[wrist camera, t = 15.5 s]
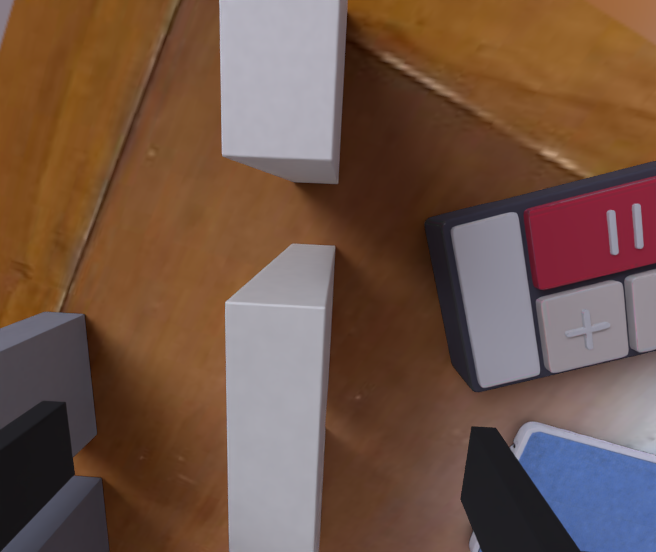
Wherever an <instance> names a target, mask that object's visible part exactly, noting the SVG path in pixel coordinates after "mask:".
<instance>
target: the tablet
mask: <svg viewBox="0 0 656 552" xmlns="http://www.w3.org/2000/svg"><path fill="white" fill-rule="evenodd" d="M513 442H514V444H513V445H511V446H510V449H511V451H512V452H513V454H514V455H515V457H516V458H517V459H518V461H519V462H520V464H521V465H522V467H523V468H524V470H525V471H526V472H527V474H528V475H529V477H530V478H531V480H532V481H533V483H534V484H535V486H536V487H537V488H538V490H539V491H540V493H541V494H542V496H543V497H544V499H545V500H546V502H547V503H548V504H549V506H550V507H551V509H552V510H553V512H554V513H555V515H556V516H557V517H558V519H559V520H560V522H561V523H562V525H563V526H564V528H565V529H566V531H567V532H568V533H569V535H570V536H571V538H572V539H573V541H574V542H575V544H576V545H577V547H578V548H579V549H580V551H587V552H656V455H653V454H650V453H646V452H642V451H639V450H635V449H631V448H628V447H624V446H621V445H617V444H613V443H610V442H608V441H604V440H600V439H596V438H593V437H590V436H586V435H581V434H578V433H574V432H572V431H569V430H565V429H560V428H557V427H553V426H550V425H546V424H543V423H539V422H527V423H525V424H523V425H522V426H521V427H520V429H519V430H518V432H517V434H516V436H515V438H514V440H513ZM469 549H470V551H471V552H482V551H481V548H480V546H479V543H478V541H477V539H476V536H475V534H474V531H473V532H472V535H471V537H470V540H469Z"/></svg>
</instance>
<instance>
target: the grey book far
mask: <svg viewBox="0 0 656 552" xmlns="http://www.w3.org/2000/svg"><path fill="white" fill-rule="evenodd" d="M1 552H109V542H108V533H107V523H106V514H105V505H104V495H103V486H102V478H97V477H83V476H73V477H72V478H71V479H70V480H69V481H68V482H67V483H66V484H65V485H64V486H63V487H62V488H61V489H60V490H59V491H58V493H57V494H56V495H55V496H54V497H53V498H52V499H51V500H50V501H49V502H48V503H47V504H46V505H45V506H44V507H43V508H42V509H41V510H40V511H39V512H38V513H37V514H36V515H35V516H34V517H33V519H32V520H31V521H30V522H29V523H28V524H27V525H26V526H25V527H24V528H23V529H22V530H21V531H20V532H19V533H18V534H17V535H16V536H15V537H14V538H13V539H12V540H11V541H10V542H9V544H8V545H7V546H6V547H5V548H4V549H3V550H2V551H1Z"/></svg>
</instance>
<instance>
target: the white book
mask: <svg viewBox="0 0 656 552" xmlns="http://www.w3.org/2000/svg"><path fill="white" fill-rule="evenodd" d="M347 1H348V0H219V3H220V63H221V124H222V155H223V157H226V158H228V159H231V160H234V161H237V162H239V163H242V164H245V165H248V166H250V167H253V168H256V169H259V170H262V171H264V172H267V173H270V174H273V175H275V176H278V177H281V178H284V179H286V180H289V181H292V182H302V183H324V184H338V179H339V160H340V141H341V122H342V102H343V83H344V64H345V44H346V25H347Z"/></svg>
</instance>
